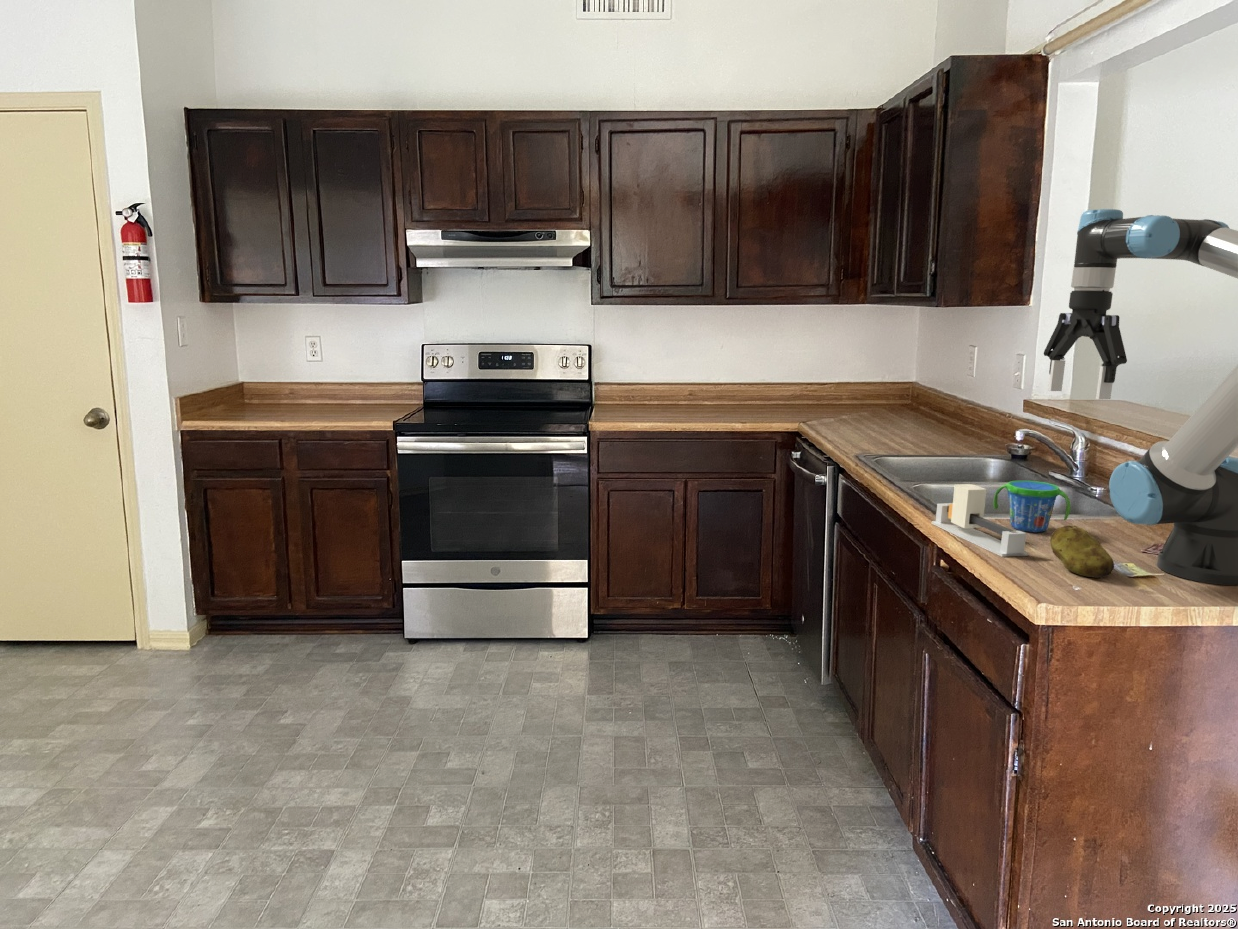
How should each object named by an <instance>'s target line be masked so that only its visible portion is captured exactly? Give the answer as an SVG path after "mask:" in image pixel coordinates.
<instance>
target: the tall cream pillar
mask: <svg viewBox="0 0 1238 929" xmlns="http://www.w3.org/2000/svg"><path fill="white" fill-rule="evenodd" d="M986 498H987V489H986V488H985V487H984V488H983V487H981V486H978V485H976V484H969V483H968V484H965V483H964V484H963V483H962V484H954V488H953V496H952V499H953V500H952V503H953V506H952V516H951V522H952V523H954V524H956V525H958V526H961V527H963V528H974V529H976V528H977V529H979V528H980V529H981V528H982V527H981V526H979V525H977V524H974V523H972V522H970V521H969V519H970V514H975V515H977V516H980V517H982V518H985V517H984V515H985V508H986V507H985V506H986V500H987V499H986Z"/></svg>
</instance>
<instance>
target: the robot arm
mask: <svg viewBox="0 0 1238 929" xmlns="http://www.w3.org/2000/svg"><path fill="white" fill-rule="evenodd" d="M1076 235H1077V238H1076V243H1075V245H1076V246H1075V254H1074V264H1073V269H1072V278H1071V285H1070V287H1071V288H1072V289H1073V290H1071V292H1069V301H1068V308H1069V309H1070V310H1072V311H1071V312H1060V313H1059V315H1058V321H1057V323H1056V326H1055V328H1054V330H1053V332H1052V334H1051V335H1050V338H1049V341H1048V342H1047V345H1046V347H1045V349H1044V351H1043V356H1044V357H1048V359H1049V360H1050V362H1049V372H1048V373H1049V382H1048V389H1047V391H1049V392H1062V390H1063V384H1064V375H1065V367H1066V358H1065V356H1066V355H1067V354H1068V352H1069V351H1070V349H1072V347H1073V345H1074V344H1075V343H1076V342H1077V341H1078V339H1079V338H1081V337H1086V338H1089V339H1091V340H1092V341H1093V344H1094V345H1095V346H1094V347H1096V351H1097V352H1098V354H1099V356H1100V358H1101V359H1100V360H1101V361H1102V363H1101V365H1100V366H1099V373H1098V378H1097V379H1098V381H1097V388H1096V395H1095V400H1111V399H1112V398H1111V397H1112V390H1113V384H1114V383H1115V381H1116V374H1117V368H1118V366H1120V365H1125V364H1127V362H1128V359H1127V354H1126V349H1125V346H1124V341H1123V337H1122V333H1121V329H1120V315H1117V314H1107V311H1109V310H1111V307H1112V301H1113V296H1114V295H1113V292H1112V291H1110V289H1113V288H1114V285H1115V278H1116V272H1117V271H1116V269H1117V262H1118V259H1147V260H1148V259H1149V260H1150V259H1151V260H1173V261H1174V260H1176V261H1178V260H1179V261H1186V262H1191V263H1193V264H1196V265H1198V266H1202V267H1206V268H1207V269H1210V270H1212V271H1216V272H1219V273H1220V274H1225V275H1227V276H1229V277H1233V278H1235V279H1238V230H1237V229H1236V230H1235V229H1232V228H1230V227H1229V225H1228V224H1227V223H1225V222H1222V221H1217V220H1214V219H1209V218H1205V219H1188V218H1187V219H1186V218H1172V217H1171V216H1167V215H1153V214H1151V215H1149V214H1148V215H1146V216H1139V217H1128V218H1124V212H1123V210H1121V209H1113V208H1106V209H1105V208H1102V209H1089V210H1085V211H1084V212H1082V213H1081V215H1080V218H1079V224H1078V230H1077V231H1076ZM1237 448H1238V363H1237V364H1236V366H1234V368H1233V369H1232V370H1230V372H1229V374H1228V375H1226V377H1225V378H1223V380H1222V381H1221V382H1220V383H1219V384H1218V385H1217V387H1215V389H1214V390H1213V391H1212V392H1211V393H1210V395H1208V397H1207V398H1206V399H1205V400H1204V401H1203V402H1202V403H1201V404H1200V406H1198V408H1197V409H1196V410H1195V411H1194V412H1193V414H1191V416H1190V417H1189V418H1188V419H1187V420H1186V421H1185V422H1184V424H1182V426H1181V427H1179V429H1178V430H1177V431H1176V433H1174V435H1172V437H1171V438H1170V439H1169V440H1165V441H1164V440H1162V441H1161V440H1160V441H1158V442H1155V443H1154V444H1152V445H1151V446H1150V447H1149V449H1148V450H1147V451H1146V452H1144V454H1143V455H1142V456H1141V458H1139V459H1138V460H1136V461H1135V460H1129V461H1126V462H1123V463H1121V464H1118V466H1116V467H1115V468H1114V469H1113V471H1112V473H1111V474H1110V479H1109V482H1108V485H1109V486H1108V489H1109V497H1110V501H1111V503H1112V505H1113V506H1112V507H1113V508H1114V510H1115V511H1116V513H1118V515H1119V516H1120V517H1121V518H1122V519H1123V520H1125V521H1127V522H1129V523H1131V524H1135V525H1146V526H1154V525H1163V524H1173V527H1172V530H1170V533H1169V535H1168V537H1167V538H1166V540H1165V543H1164V544H1163V546H1162V549H1160V551H1159V552H1158V555H1157V559H1156V560H1157V561H1156V566H1157V568H1158V569H1160V570H1162V571H1163V572H1166V573H1167V574H1170V575H1173V576H1176V577H1179V578H1182V579H1185V580H1191V581H1196V582H1201V583H1206V584H1207V583H1208V584H1213V585H1224V586H1225V585H1227V586H1238V457H1235V456H1231V455H1232V453H1233V452H1234V451H1235V450H1237Z"/></svg>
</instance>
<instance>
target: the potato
mask: <svg viewBox="0 0 1238 929" xmlns="http://www.w3.org/2000/svg"><path fill="white" fill-rule="evenodd" d="M1049 542H1050V543H1049V544H1050V547H1051V550H1052V553H1053V554H1054V555H1055V557H1056V558H1057V559H1058V560H1060V561H1061V562H1062V564H1063V567H1065V569H1066V570H1068V571H1070V572H1072V573H1074V574H1076V575H1079V576H1082V577H1088V578H1094V579H1101V578H1106V577H1109V576H1110V575H1112V573H1113V571H1114V568H1115V564H1114V560H1113V557H1112V556H1111V555H1110V553H1108V551H1107V550H1106V548H1104V547H1103V546H1102V544H1101V542H1100V541H1098V539H1096V538H1094V536H1092V535H1091V534H1090V533H1089V532H1088V531H1087V530H1085V529H1084V528H1081V527H1078V526H1076V525H1064V526H1061V527H1058V528H1056V529H1054V531H1053V532H1051V536H1050V541H1049Z"/></svg>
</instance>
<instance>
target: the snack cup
mask: <svg viewBox="0 0 1238 929" xmlns="http://www.w3.org/2000/svg"><path fill="white" fill-rule="evenodd" d="M1004 488H1005V489H1006V490H1007V495H1008V504H1009V521H1010V525H1011V527H1012V528H1013V529H1015V530H1016V531H1022V532H1027V533H1030V532H1031V533H1042V532H1046V531H1047V530H1048V527H1049V523H1050V521H1051V519H1052V518H1051V517H1052V513H1053V511H1054V506H1055V503H1056V499H1057V497H1058V496H1061V497H1062V498H1064V499H1065V503H1066V504H1065V505H1066V507H1065V508H1066V509H1065V512H1064V514H1065V515H1064V518H1063V519H1064V521H1066V520H1067V518H1068V517H1069V515H1070V512H1071V501H1070V499H1069V496H1068V494H1066V493H1065V492H1064V491H1062V490H1061V488H1060V487H1059V486H1058V485H1056V484H1053V483H1049V482H1044V481H1036V480H1024V479H1023V480H1010V481H1009V482H1007V483H1005V484H1003V485H1002V486H1000V487H999V488H998V489H997V490H996V491H995V494H994V496H993V508H994V509H995V510H997V509H998V508H999V504H998V502H999V500H998V498H999V497H998V496H999V493H1000V492H1001V491H1002V490H1003V489H1004Z"/></svg>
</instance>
